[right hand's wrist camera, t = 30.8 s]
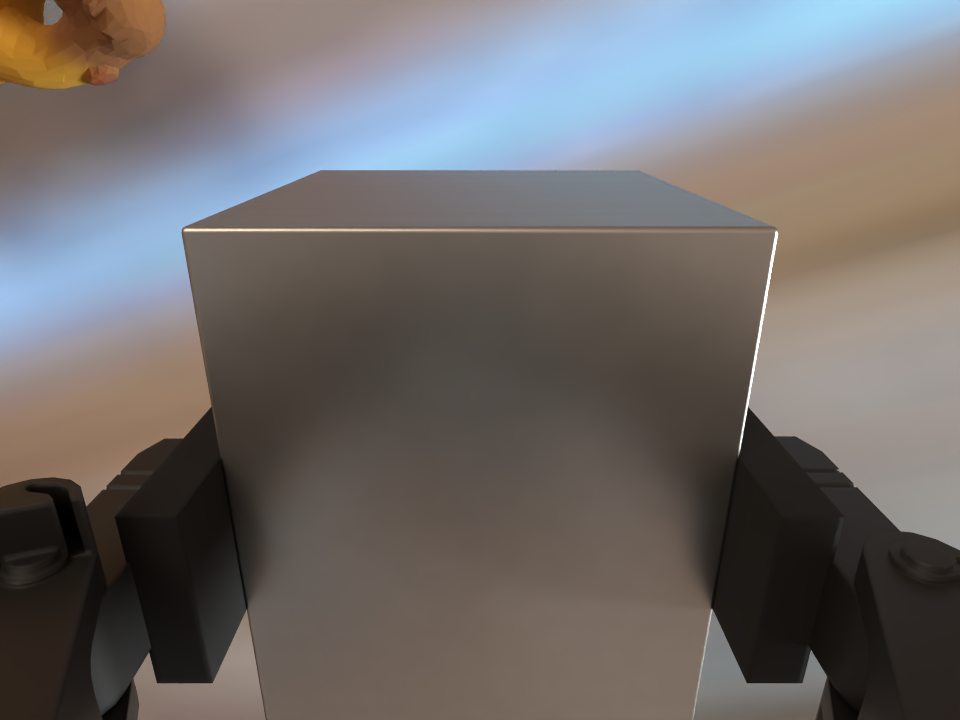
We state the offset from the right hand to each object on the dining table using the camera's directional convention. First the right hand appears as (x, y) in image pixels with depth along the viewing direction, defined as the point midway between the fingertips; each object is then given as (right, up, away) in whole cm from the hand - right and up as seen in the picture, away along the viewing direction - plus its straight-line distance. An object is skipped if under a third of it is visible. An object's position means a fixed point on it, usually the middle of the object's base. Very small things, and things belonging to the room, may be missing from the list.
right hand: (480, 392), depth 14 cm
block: (0, +1, +2) cm, 2 cm away
